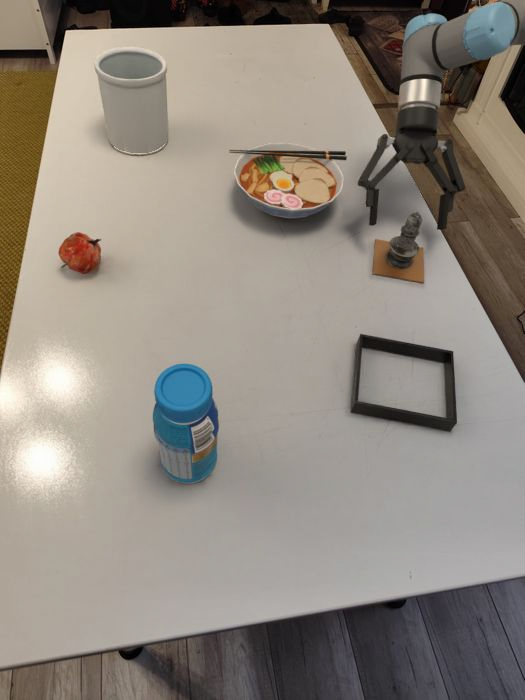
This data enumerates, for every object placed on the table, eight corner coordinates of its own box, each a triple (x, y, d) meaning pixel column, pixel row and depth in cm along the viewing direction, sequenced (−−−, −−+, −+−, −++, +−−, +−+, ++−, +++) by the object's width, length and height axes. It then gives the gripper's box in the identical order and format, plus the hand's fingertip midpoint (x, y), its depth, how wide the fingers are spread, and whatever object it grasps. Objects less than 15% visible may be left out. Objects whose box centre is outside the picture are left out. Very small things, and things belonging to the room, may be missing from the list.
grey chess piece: (411, 250, 106) (431, 202, 96) (415, 271, 103) (436, 223, 93) (382, 248, 106) (400, 200, 96) (386, 268, 102) (404, 221, 93)
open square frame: (446, 361, 91) (453, 351, 88) (450, 431, 82) (457, 422, 80) (356, 344, 91) (360, 333, 89) (350, 412, 83) (354, 402, 81)
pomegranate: (70, 291, 96) (109, 269, 92) (38, 265, 92) (77, 240, 87) (80, 266, 101) (117, 244, 97) (50, 240, 97) (88, 215, 92)
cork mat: (422, 249, 107) (423, 247, 107) (423, 283, 101) (424, 281, 101) (374, 240, 108) (375, 238, 107) (372, 274, 102) (373, 272, 101)
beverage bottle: (157, 485, 73) (142, 417, 57) (162, 431, 78) (150, 355, 62) (217, 486, 74) (218, 419, 58) (218, 432, 79) (220, 357, 63)
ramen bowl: (226, 235, 105) (227, 202, 98) (228, 167, 119) (229, 134, 112) (347, 241, 107) (356, 210, 100) (336, 174, 120) (343, 142, 114)
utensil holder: (145, 114, 129) (136, 39, 115) (184, 141, 123) (181, 66, 109) (94, 135, 122) (79, 58, 108) (134, 165, 116) (123, 87, 102)
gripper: (473, 121, 101) (461, 232, 105) (347, 111, 100) (339, 224, 103) (492, 109, 94) (478, 229, 97) (357, 99, 92) (347, 221, 96)
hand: (407, 227), depth 100 cm, fingers open, 13 cm apart
